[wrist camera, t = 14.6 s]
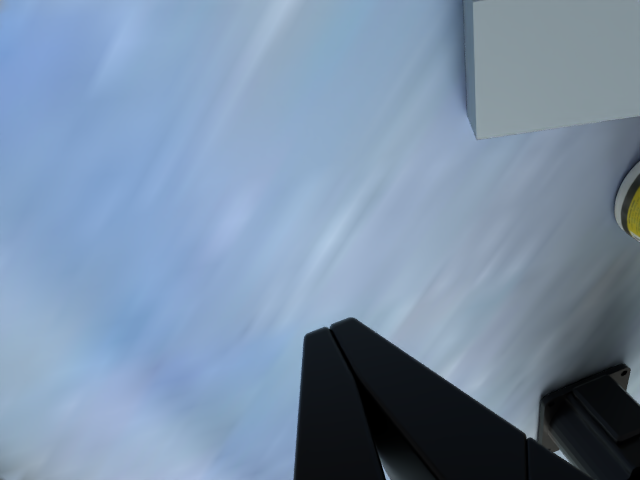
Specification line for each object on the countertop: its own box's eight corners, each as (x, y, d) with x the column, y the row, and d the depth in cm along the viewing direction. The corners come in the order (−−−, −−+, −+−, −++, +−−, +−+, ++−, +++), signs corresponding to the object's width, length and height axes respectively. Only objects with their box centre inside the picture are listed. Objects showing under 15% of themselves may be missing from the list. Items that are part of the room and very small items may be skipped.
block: (467, 116, 22) (678, 83, 21) (476, 140, 20) (707, 106, 19) (462, -13, 19) (707, -61, 18) (472, 2, 17) (744, -50, 16)
